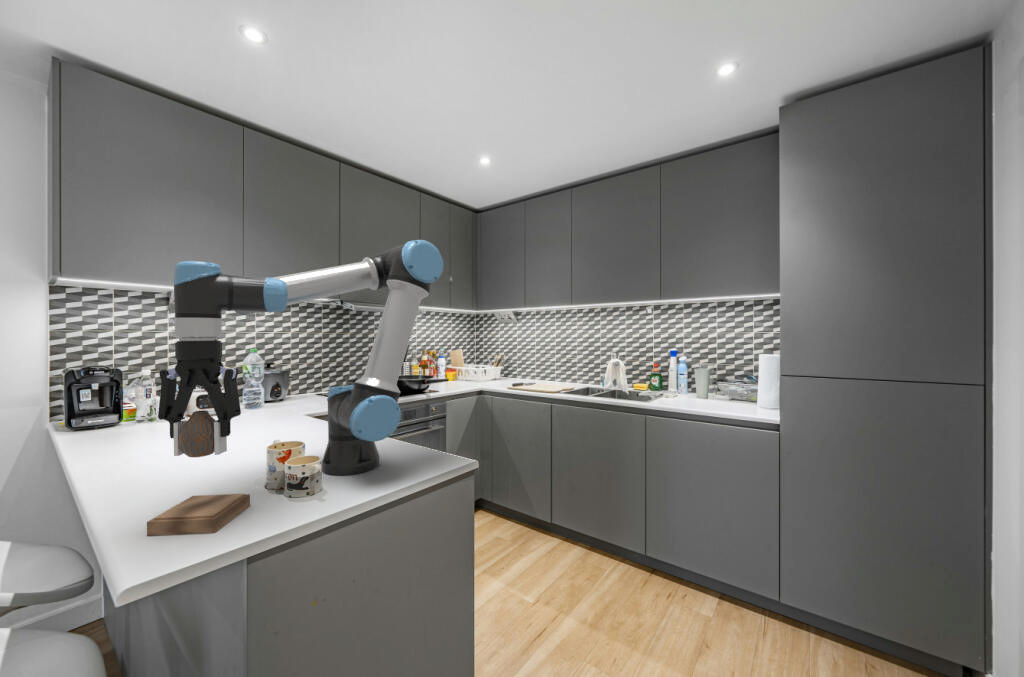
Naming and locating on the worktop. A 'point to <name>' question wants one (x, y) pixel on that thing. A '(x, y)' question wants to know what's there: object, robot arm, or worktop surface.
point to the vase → (198, 435)
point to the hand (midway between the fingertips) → (200, 453)
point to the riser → (199, 515)
